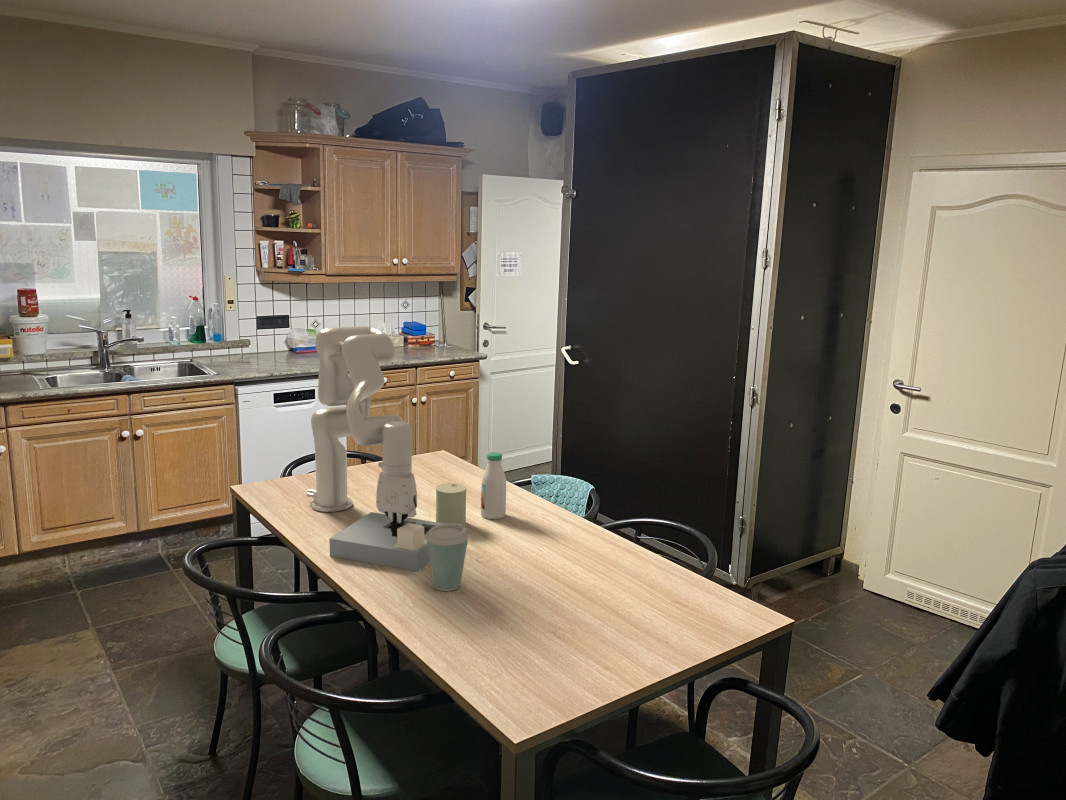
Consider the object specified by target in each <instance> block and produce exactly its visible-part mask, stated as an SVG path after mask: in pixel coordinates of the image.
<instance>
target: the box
mask: <svg viewBox="0 0 1066 800" xmlns="http://www.w3.org/2000/svg"><path fill="white" fill-rule="evenodd" d="M408 523H411V524H415V525H420V526H424V545H422V546H421V547H419V548H417V549H415V550H414V551H412V550H408V549H404V548H400V547H397V537H396V536H394V537H393V536H392V532H391V522H390V521H389V518H388V517H387V516H386V514H384V513H382V512H372V511H371V512H369V513H367V514H366V515H364V516H363V517H360V518H359V519H358V520H356V521H354V522H353V523H352V524H350V525H349V526H346V527H345V528H344V529H342V530H340V531H339V532H337V533H336V534H334V535H333V536H330V538H329V539H328V541H329V557H333V558H338V559H344V560H350V561H355V562H360V563H368V564H372V565H376V566H377V565H378V566H383V567H389V568H393V569H399V570H406V571H411V572H420V571H421V570H422V569H423V567H425V566H426V565H427V564H429V563H430V557H429V551H428V544H427V541H426V533H427V532H428V531H429V530H430V529H431V528H432V527H435V526H438V525H440V524H444V523H438V522H436V521H430V520H424V519H418V518H417V519H416V518H413V517H407V518H406V519H405V520H404V525H406V524H408Z"/></svg>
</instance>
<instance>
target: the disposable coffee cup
mask: <svg viewBox="0 0 1066 800" xmlns="http://www.w3.org/2000/svg"><path fill="white" fill-rule="evenodd" d="M469 539H470V536H469V532H468V531H467V528H466V526H464V525H461V524H459V523H447V524H440V525H438V526H435V527H432V528H431V529H430V530H429V531H428V532H427V533H426V541H427V544H428V551H429V557H430V561H429V563H430V569H431V576H432V577H431V578H432V583H433V586H434V588H435V589H436V590H437V591H441V592H451V591H452V592H453V591H455V590H458V589H459V588H460V585H461V584H462V580H463V578H462V577H463V572H464V565H465V561H466V553H467V545H468V540H469Z"/></svg>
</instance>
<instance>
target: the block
mask: <svg viewBox="0 0 1066 800" xmlns="http://www.w3.org/2000/svg"><path fill="white" fill-rule="evenodd" d="M422 545H424V526H420V525H415V524H411V523H408V524H406V525H404V526H402V527H400V528H398V529H397V547H400V548H404V549H408V550H412V551H414V550H415V549H417V548H419V547H421V546H422Z"/></svg>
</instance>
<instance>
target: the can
mask: <svg viewBox="0 0 1066 800" xmlns="http://www.w3.org/2000/svg"><path fill="white" fill-rule="evenodd" d="M466 501H467V486H466V485H464V484H460V483H455V482H454V483H453V482H448V483H447V482H446V483H441V484H439V485H437V486H436V487H435V522H438V523H444V524H447V523H459V524H461V525H464V526H465V527H466V526H467V520H466V519H467V502H466Z"/></svg>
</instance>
